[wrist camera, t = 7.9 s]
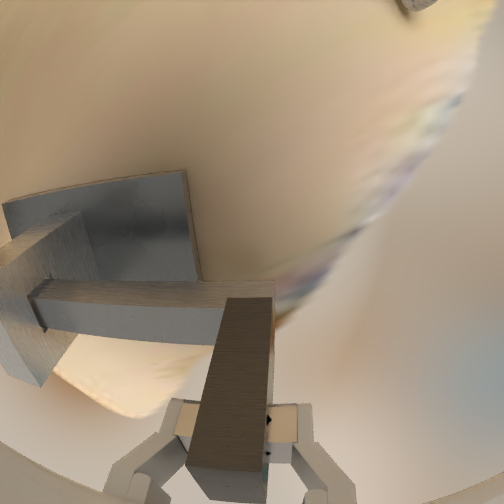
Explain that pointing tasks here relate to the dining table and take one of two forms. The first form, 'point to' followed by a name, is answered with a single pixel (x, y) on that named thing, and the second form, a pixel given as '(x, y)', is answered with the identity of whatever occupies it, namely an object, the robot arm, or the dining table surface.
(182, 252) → the stand
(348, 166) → the dining table surface
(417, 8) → the mug
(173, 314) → the dark angled piece
